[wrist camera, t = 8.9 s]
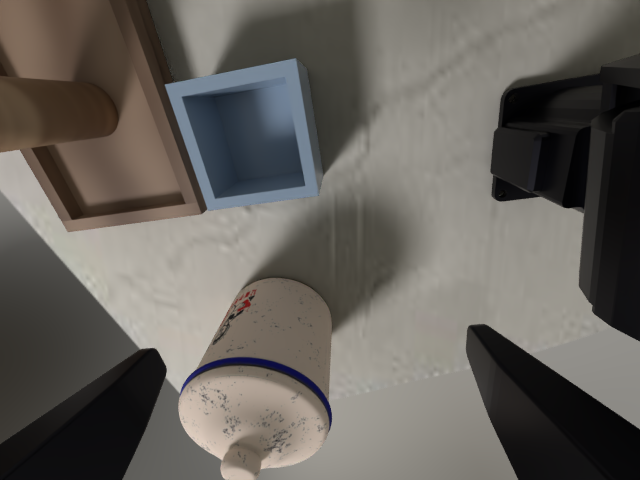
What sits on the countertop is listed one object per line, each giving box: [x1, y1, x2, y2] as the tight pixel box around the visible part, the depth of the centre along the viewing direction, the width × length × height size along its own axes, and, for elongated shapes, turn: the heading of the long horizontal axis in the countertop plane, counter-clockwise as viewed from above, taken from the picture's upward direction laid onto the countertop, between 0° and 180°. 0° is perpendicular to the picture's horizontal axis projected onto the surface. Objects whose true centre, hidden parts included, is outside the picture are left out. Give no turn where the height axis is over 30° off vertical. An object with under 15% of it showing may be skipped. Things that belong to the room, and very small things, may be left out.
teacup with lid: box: [179, 278, 332, 480], centre depth 20 cm, size 12×9×12 cm
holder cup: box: [165, 58, 324, 211], centre depth 16 cm, size 6×6×4 cm
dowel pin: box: [0, 76, 118, 152], centre depth 13 cm, size 3×3×10 cm
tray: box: [0, 0, 207, 232], centre depth 17 cm, size 10×14×2 cm
